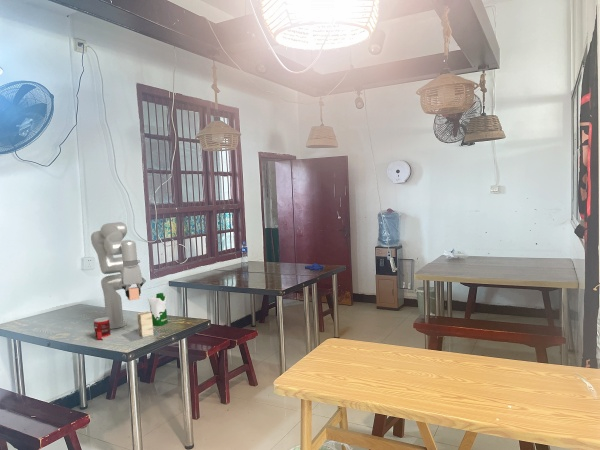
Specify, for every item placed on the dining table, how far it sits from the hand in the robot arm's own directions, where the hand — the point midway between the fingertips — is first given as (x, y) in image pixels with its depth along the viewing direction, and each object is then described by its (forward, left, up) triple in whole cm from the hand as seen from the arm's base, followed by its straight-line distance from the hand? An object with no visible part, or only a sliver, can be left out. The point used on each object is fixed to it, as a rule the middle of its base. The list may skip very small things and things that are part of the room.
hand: (133, 296), depth 238 cm
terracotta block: (0, 0, -2) cm, 2 cm away
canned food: (-17, -14, -24) cm, 32 cm away
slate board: (-1, +2, -24) cm, 24 cm away
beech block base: (+2, +4, -22) cm, 23 cm away
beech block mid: (+2, +4, -16) cm, 17 cm away
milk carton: (-13, +17, -24) cm, 32 cm away
